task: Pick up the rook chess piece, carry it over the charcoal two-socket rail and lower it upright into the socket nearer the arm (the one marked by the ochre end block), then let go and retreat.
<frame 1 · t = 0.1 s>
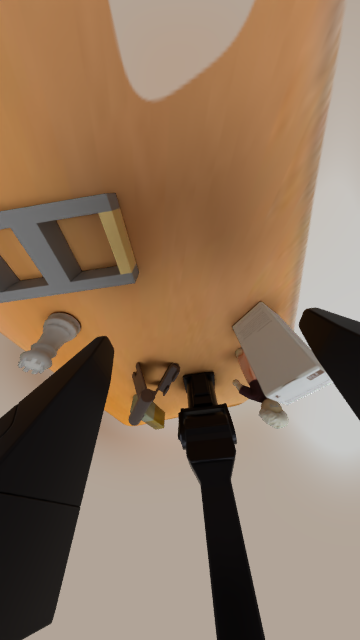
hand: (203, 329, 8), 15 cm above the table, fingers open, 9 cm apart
portable electronic device stand: (153, 371, 34), on the table
socket rail: (59, 249, 19), on the table
skincare box: (253, 317, 27), on the table
rook chess piece: (66, 322, 25), on the table
grandmother figurine: (243, 351, 31), on the table
medication box: (150, 403, 42), on the table
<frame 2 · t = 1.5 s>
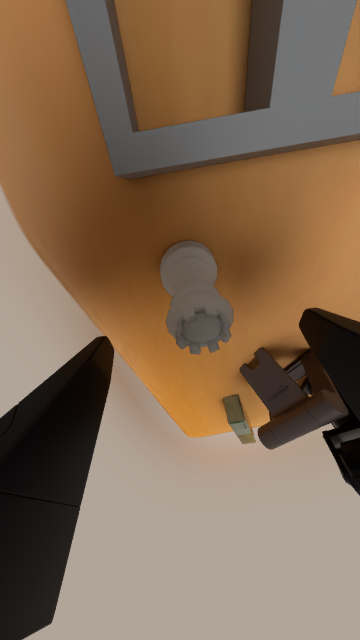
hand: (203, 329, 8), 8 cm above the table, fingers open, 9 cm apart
portable electronic device stand: (271, 363, 23), on the table
socket rail: (277, 29, 7), on the table
rook chess piece: (187, 267, 14), on the table
medication box: (236, 408, 31), on the table
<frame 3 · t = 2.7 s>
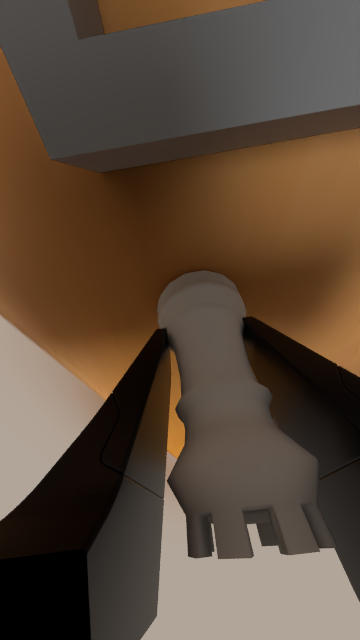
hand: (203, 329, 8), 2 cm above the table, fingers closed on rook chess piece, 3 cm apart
rook chess piece: (197, 303, 9), on the table, touching gripper
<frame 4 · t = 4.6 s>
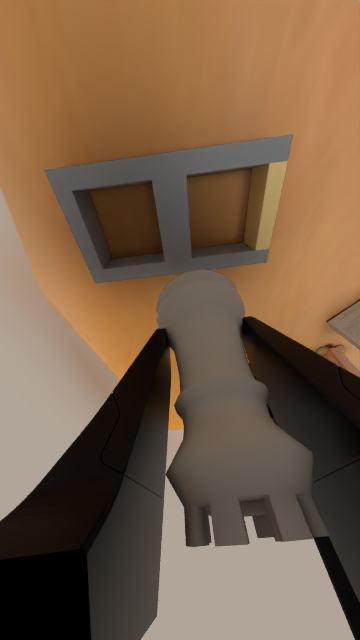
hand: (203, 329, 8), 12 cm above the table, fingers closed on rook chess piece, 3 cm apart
socket rail: (173, 219, 15), on the table
skincare box: (352, 312, 23), on the table
rook chess piece: (196, 303, 10), point 10 cm above the table, touching gripper
grandmother figurine: (324, 350, 28), on the table
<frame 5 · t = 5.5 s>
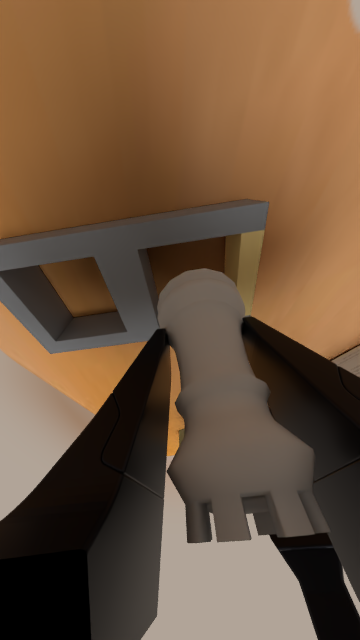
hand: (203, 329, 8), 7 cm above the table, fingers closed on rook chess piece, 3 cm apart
socket rail: (138, 278, 13), on the table
skincare box: (353, 353, 21), on the table
rook chess piece: (196, 302, 10), point 4 cm above the table, touching gripper
when the fingers open (3 cm above the table, at t = 6.4 s): rook chess piece drops 1 cm, resting in socket rail.
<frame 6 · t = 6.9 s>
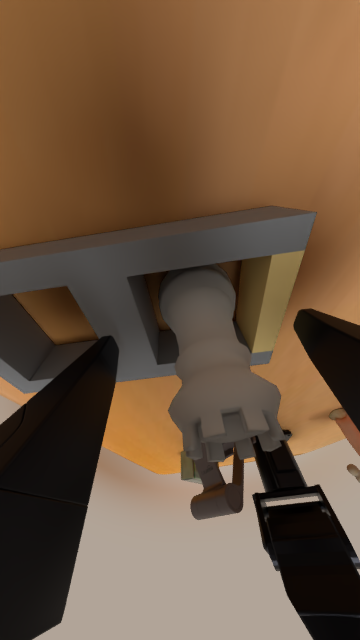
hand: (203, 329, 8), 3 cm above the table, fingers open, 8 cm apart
portable electronic device stand: (213, 431, 26), on the table
socket rail: (131, 301, 11), on the table
rook chess piece: (193, 291, 11), resting in socket rail
grandmother figurine: (340, 410, 23), on the table
medication box: (200, 454, 34), on the table
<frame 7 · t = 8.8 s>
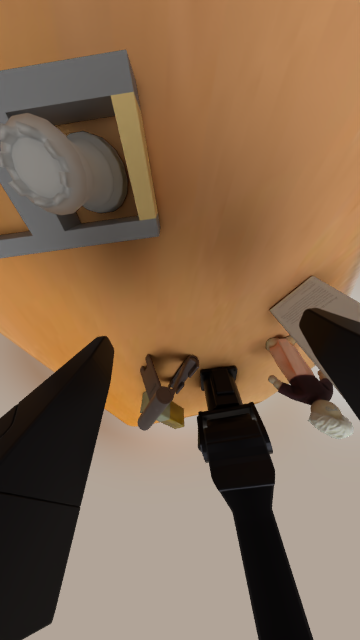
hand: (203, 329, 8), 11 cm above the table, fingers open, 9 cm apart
portable electronic device stand: (165, 365, 29), on the table
socket rail: (47, 184, 13), on the table
skincare box: (296, 298, 21), on the table
rook chess piece: (99, 177, 13), resting in socket rail
grandmother figurine: (275, 342, 26), on the table
medication box: (164, 400, 37), on the table
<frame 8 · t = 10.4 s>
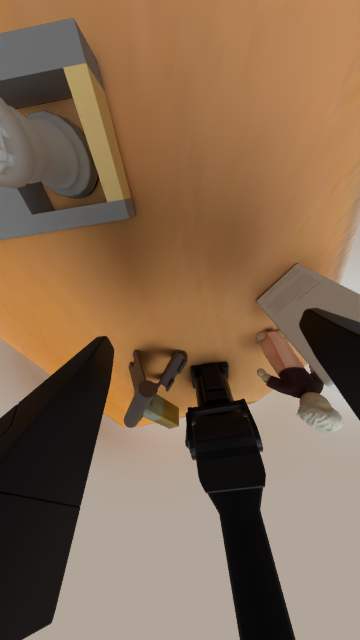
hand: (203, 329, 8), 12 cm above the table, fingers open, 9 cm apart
portable electronic device stand: (155, 362, 28), on the table
socket rail: (18, 170, 13), on the table
skincare box: (283, 288, 21), on the table
rook chess piece: (69, 162, 13), resting in socket rail
grandmother figurine: (266, 335, 25), on the table
medication box: (158, 398, 36), on the table
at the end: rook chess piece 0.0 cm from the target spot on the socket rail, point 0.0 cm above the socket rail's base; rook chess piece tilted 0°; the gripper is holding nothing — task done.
